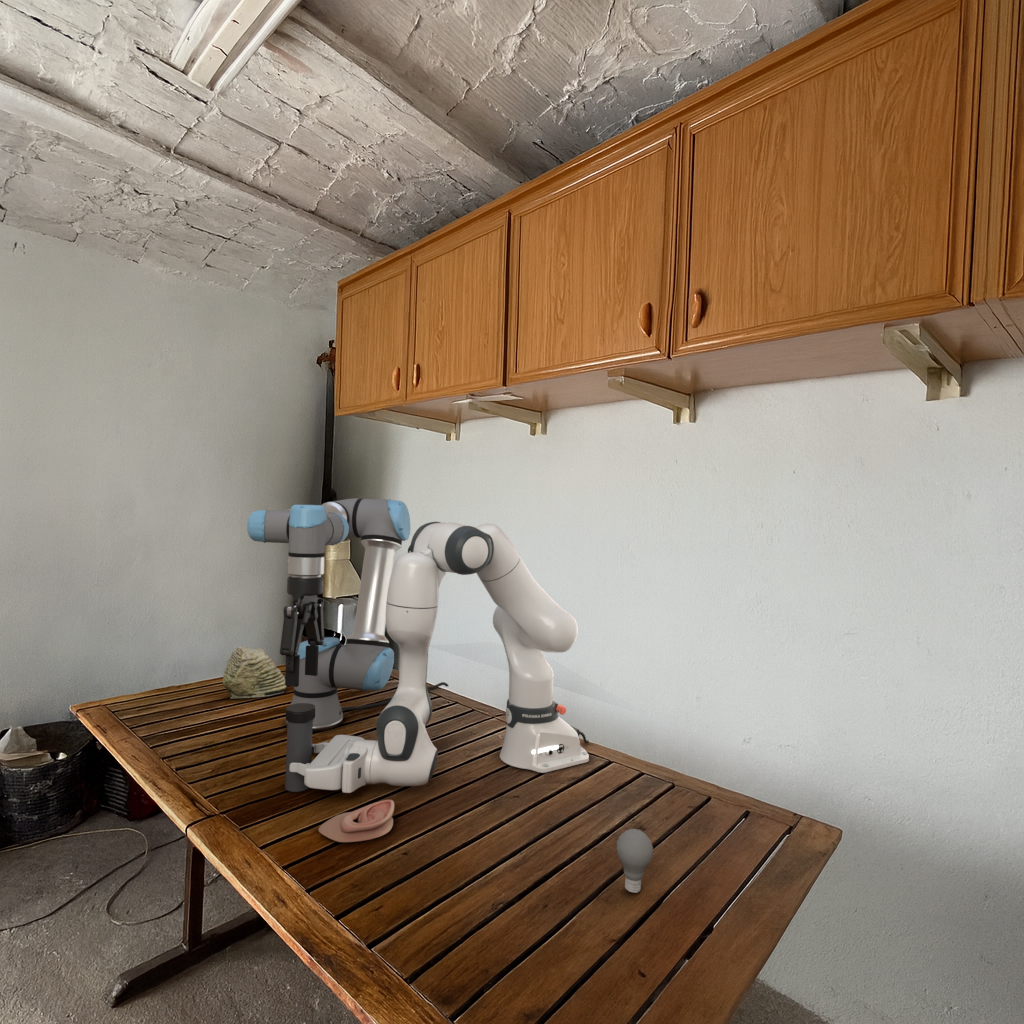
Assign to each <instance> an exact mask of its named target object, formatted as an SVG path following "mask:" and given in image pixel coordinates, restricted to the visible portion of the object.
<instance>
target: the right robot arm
mask: <svg viewBox="0 0 1024 1024" xmlns="http://www.w3.org/2000/svg"><path fill="white" fill-rule="evenodd" d="M447 573H452V574H457V575H461V576H470V575H474V574H476V575H477V577H478V578H479V580H480V581H481V583H482V585H483V587H484V588H485V589H486V591H487V594H488V595H489V597H490V598H491V599H492V601H493V603H494V604H495V605H496V608H495V609H494V611H493V615H492V625H493V628H494V630H495V632H496V633H497V635H498V636H499V638H500V640H501V642H502V645H503V648H504V652H505V657H506V661H507V664H508V678H509V679H508V698H507V700H506V708H505V722H506V725H505V726H506V727H505V731H504V732H505V733H504V738H503V742H502V746H501V749H500V752H499V758H500V761H502V762H503V763H504V764H507V765H508V766H511V767H514V768H518V769H523V770H529V771H533V772H535V773H536V772H537V773H540V774H544V773H549V772H550V773H551V772H553V771H557V770H561V769H565V768H569V767H570V768H571V767H573V766H578V765H581V764H585V763H589V761H590V756H589V755H590V754H589V753H588V752H587V750H586V749H585V748H584V747H583V746H582V745H581V741H580V736H581V737H582V739H583V742H584V743H585V744H589V743H590V741H589V740H588V739H587V738H586V735H585V733H584V732H582V731H580V729H579V728H576V727H574V726H572V725H570V724H569V723H568V722H567V721H565V720H564V719H563V718H562V717H560V716H564V715H565V714H566V713H567V708H566V707H565V706H563V704H559V703H557V702H556V701H554V699H553V698H554V679H555V678H554V677H555V674H554V671H553V668H552V666H551V665H550V664H549V662H548V661H547V659H546V656H545V654H544V652H545V653H565V652H567V651H569V650H570V649H571V648H572V647H573V646H574V645H575V643H576V641H577V638H578V635H579V627H578V622H577V620H576V618H575V617H574V616H573V615H572V614H571V613H570V612H568V611H566V609H564V608H562V606H560V604H558V603H557V602H556V601H555V600H554V599H553V597H551V596H550V595H549V594H548V593H547V592H546V591H545V589H544V588H543V587H542V586H541V585H540V583H538V582H537V581H536V579H535V578H534V577H533V575H532V574H531V571H530V570H529V569H528V567H527V565H526V563H525V562H524V559H523V558H522V557H521V554H520V553H519V551H518V550H517V548H516V546H515V545H514V544H513V542H512V541H511V539H510V538H509V537H508V536H507V535H506V533H505V532H504V531H503V530H502V528H500V526H498V525H496V524H494V523H483V524H479V525H477V526H473V525H472V526H471V525H466V524H461V523H457V522H440V521H430V522H426V523H424V524H422V525H420V526H419V527H418V528H417V529H416V531H415V533H414V534H413V535H412V538H411V541H410V545H409V546H408V548H407V553H404V554H401V555H400V556H398V558H397V559H396V560H394V565H393V570H392V573H391V577H390V582H389V587H388V593H387V602H386V627H385V629H386V632H387V635H388V636H389V637H390V639H392V641H394V642H395V643H396V644H397V645H398V648H399V654H400V655H399V671H398V685H397V688H396V690H395V693H394V694H393V695H392V697H391V698H392V699H391V698H390V699H391V701H390V702H389V703H387V704H386V706H385V707H384V708H383V710H382V711H381V712H380V714H379V715H378V717H377V721H376V738H377V739H375V740H373V739H365V738H364V737H362V736H356V735H349V734H336V735H334V736H333V737H332V738H331V739H330V740H329V742H328V741H324V742H319V743H312V755H315V754H317V755H316V756H315V758H313V760H311V763H306V764H302V763H301V761H293V762H292V763H291V764H290V769H289V770H290V772H298V773H299V774H301V775H303V776H304V784H305V785H306V786H307V787H309V788H310V789H315V790H324V791H339V790H341V791H342V793H343V794H351V793H353V792H355V791H357V790H358V789H359V788H361V787H364V786H366V785H377V784H387V785H390V786H393V787H420V786H425V785H428V783H430V782H431V780H432V778H433V776H434V773H435V769H436V767H437V763H438V757H439V751H438V748H437V747H436V746H435V745H434V744H433V742H432V740H431V738H430V736H429V734H428V731H427V728H426V727H427V725H428V724H429V722H430V720H431V718H432V715H433V704H432V699H431V696H430V694H429V690H427V687H428V685H427V677H428V663H429V662H428V661H429V649H430V645H431V641H432V637H433V634H434V630H435V626H436V622H437V617H438V616H437V614H438V608H439V594H440V590H439V589H440V586H441V583H442V582H443V579H444V577H445V575H446V574H447ZM559 715H560V716H559ZM309 788H308V789H309Z"/></svg>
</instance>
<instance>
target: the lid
mask: <svg viewBox="0 0 1024 1024" xmlns="http://www.w3.org/2000/svg"><path fill="white" fill-rule="evenodd" d="M285 709H286V710H285V721H286V720H287V721H288V722H292V723H304V722H308V721H311V720H313V719H314V718H315V705H313V704H310V703H296V704H292V705H290V704H289V705H288V706H286V707H285Z"/></svg>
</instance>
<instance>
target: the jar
mask: <svg viewBox="0 0 1024 1024" xmlns="http://www.w3.org/2000/svg"><path fill="white" fill-rule="evenodd" d="M312 730H313V720H311V721H308V722H304V723H292V722H288V723H287V726H286V752H285V753H286V754H285V780H284V789H285V790H286V791H288V792H292V793H298V792H304V791H307V790H309V787H307V786H306V785H305V784H304V776H303V775H301V774H299V773H298V772H290V770H289V769H290V764H291V763H292V762H293V761H301V763H302V764H306V763H311V762H312V757H313V756H312V755H313V754H312V744H313V732H312Z"/></svg>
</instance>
